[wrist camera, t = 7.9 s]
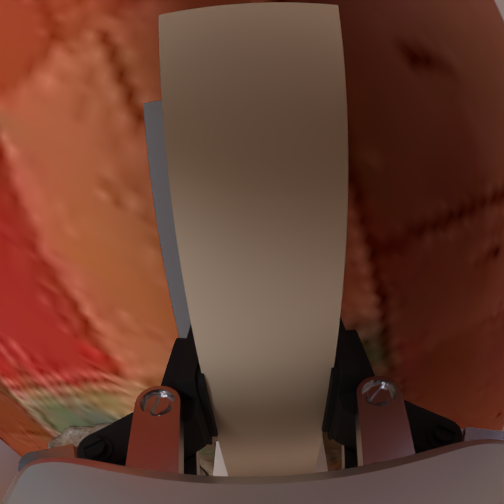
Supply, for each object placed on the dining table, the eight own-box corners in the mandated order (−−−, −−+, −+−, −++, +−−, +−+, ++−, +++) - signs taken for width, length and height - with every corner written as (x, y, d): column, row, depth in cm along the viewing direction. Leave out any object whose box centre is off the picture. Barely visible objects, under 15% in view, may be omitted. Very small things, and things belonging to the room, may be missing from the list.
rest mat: (147, 103, 13) (143, 103, 12) (318, 91, 13) (321, 89, 12) (204, 421, 22) (203, 427, 21) (307, 418, 21) (308, 424, 21)
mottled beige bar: (200, 60, 9) (158, 14, 5) (302, 55, 9) (338, 5, 4) (242, 442, 17) (239, 510, 12) (298, 440, 17) (304, 508, 12)
